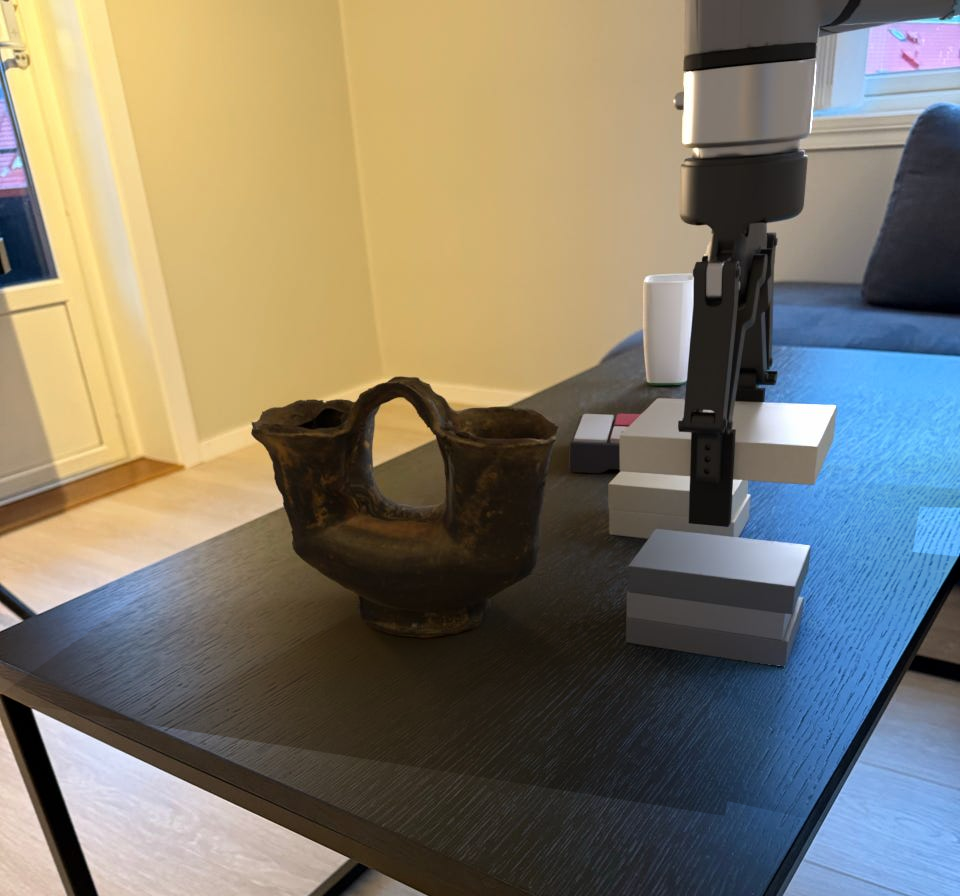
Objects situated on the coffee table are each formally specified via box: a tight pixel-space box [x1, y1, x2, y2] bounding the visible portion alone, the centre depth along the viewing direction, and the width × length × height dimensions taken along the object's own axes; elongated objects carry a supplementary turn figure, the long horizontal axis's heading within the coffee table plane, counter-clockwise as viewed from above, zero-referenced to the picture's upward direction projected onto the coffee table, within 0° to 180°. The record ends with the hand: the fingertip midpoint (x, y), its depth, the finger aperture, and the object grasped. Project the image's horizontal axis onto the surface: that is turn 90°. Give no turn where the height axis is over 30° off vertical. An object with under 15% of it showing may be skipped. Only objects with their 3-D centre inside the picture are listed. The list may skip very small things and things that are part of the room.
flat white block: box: [619, 397, 838, 486], centre depth 65 cm, size 13×10×3 cm
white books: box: [607, 470, 751, 540], centre depth 90 cm, size 12×8×5 cm, turn 65°
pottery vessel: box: [250, 375, 559, 639], centre depth 75 cm, size 25×11×20 cm, turn 71°
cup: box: [642, 272, 694, 386], centre depth 136 cm, size 7×7×15 cm
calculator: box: [568, 413, 642, 474], centre depth 109 cm, size 11×4×15 cm
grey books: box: [625, 529, 812, 668], centre depth 71 cm, size 12×8×7 cm, turn 65°
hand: (726, 496), depth 67 cm, fingers closed on flat white block, 9 cm apart
